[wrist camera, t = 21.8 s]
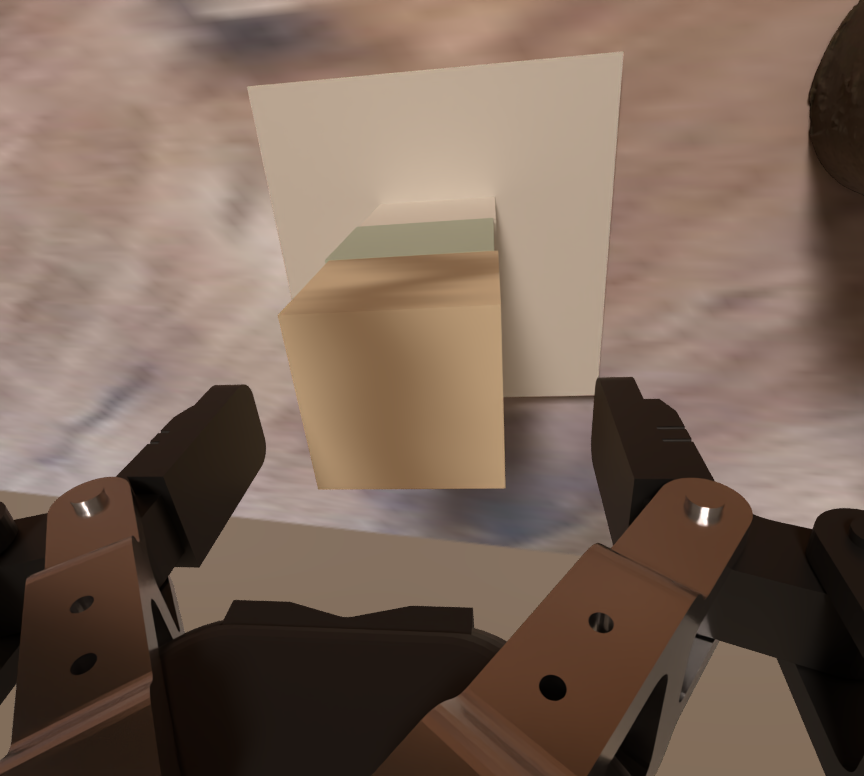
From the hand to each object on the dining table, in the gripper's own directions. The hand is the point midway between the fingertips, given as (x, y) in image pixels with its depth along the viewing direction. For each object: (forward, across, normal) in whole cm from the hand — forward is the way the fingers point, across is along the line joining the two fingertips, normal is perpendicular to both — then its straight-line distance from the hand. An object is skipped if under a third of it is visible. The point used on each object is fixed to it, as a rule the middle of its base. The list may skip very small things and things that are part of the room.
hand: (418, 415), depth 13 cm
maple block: (+6, +1, +1) cm, 6 cm away
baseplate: (+17, +1, +1) cm, 17 cm away
